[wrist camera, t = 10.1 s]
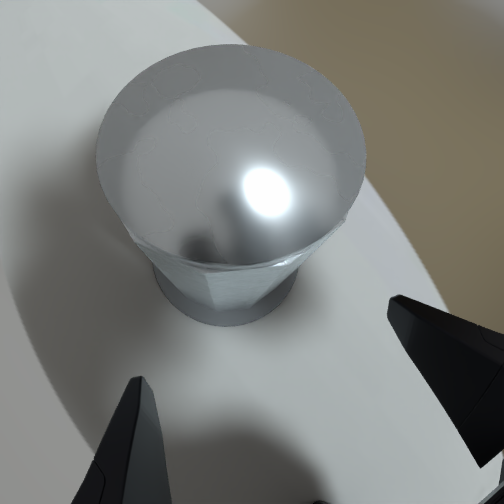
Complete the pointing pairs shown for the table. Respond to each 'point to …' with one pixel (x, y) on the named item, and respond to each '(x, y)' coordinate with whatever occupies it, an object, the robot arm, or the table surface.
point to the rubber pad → (224, 317)
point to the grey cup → (230, 168)
